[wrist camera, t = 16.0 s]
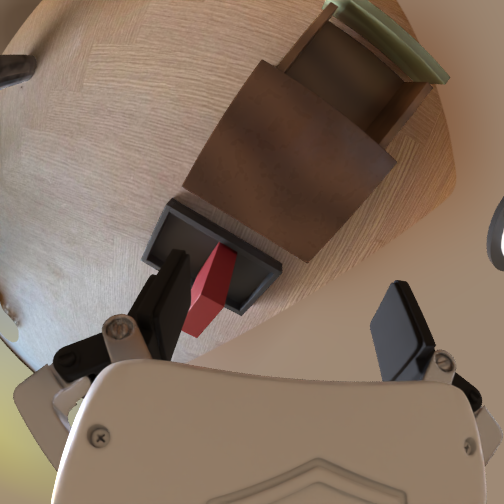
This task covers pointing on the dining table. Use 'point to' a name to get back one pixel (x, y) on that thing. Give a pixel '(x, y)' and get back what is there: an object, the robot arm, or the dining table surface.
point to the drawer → (363, 68)
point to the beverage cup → (16, 69)
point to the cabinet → (287, 163)
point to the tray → (201, 246)
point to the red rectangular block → (210, 289)
